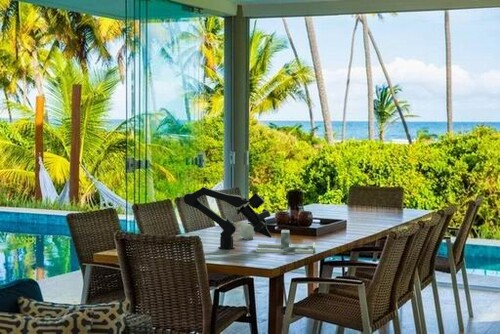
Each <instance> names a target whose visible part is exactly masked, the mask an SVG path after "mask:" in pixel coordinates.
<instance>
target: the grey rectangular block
mask: <svg viewBox="0 0 500 334" xmlns="http://www.w3.org/2000/svg"><path fill="white" fill-rule="evenodd" d="M290 234H291V233H290V229H281V232H280V244H281V248H280V249H284V251H283V252H295V250H309V248H308V245H309V244H299V243H298V244H295V243H293V244H292V243H291V244H290Z"/></svg>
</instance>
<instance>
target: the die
mask: <svg viewBox="0 0 500 334" xmlns="http://www.w3.org/2000/svg"><path fill="white" fill-rule="evenodd" d="M238 234H239V235H240V236H241V237H242V238H243V239H244V240H253V239H254V237H255V234H256V233H255V231H254V227H253V225H252V224H251V223H248V224H241V226H240V229H239V232H238Z"/></svg>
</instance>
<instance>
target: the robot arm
mask: <svg viewBox="0 0 500 334" xmlns="http://www.w3.org/2000/svg"><path fill="white" fill-rule="evenodd" d="M203 196H207V197H210V198H213V199H217V200H219V201H223V202H225V203H227V204H228V205H231V206H232V207H234V208H237V209H236V215H237V216H238V215H239V214H241V215H242V216H243V217H244V218H245V219H246V220H247V222H249V224H250V225H251V226H252V227H253V228H254V231H255V234H256V233H258V234H261V235H264V236H266V237H267V238H270V239H271V238H272V235H271V232H270V231H269V229H268V227H267V224H268V223H267V220H266V218H269V217H271V212H270V210H269V209H266V208H264V209H262V211H261V212H259V213H258V212H256V211H255V209H256V210H258V209H259V208H260V207H261V206H262V205H263V204H265V201H266V200H264V198H263V196H260V195H259V194H258V193H257V192H254V193H253V195H252V196H251V197H250V198H245V197H243V196H241V195H238V194H229V193H224V192H222V191H218V190H215V189H212V188H208V187H207V186H202V187H201V188H200V189H198V190H196V191H193V192H188V193H186V194H185V195H184V197H183V202H184V204H186V205H187V206H189V207H192V208H195V209H197V210H198V211H199V212H201V213H202V214H203V215H205V216H206V217H208V218H209V219H210V220H211V221H213V222H215V224H218V226H219V227H220V228H221V230H222V231H221V232H220V238H219V243H220V244H219V246H218V247H217V249H221V250H231V249H232V250H233V249H236V247H235V246H234V236H233V235H234V234H235V232H237V225H236V223H235V221H232V220H231V218H230V217H228V218H227V219H226V218H224V217H222V216H221V215H219V214H218V213H217V212H215V211H214V210H213V209H211V208H210V207H208V206H207V205H206V204H204V203H203V202H202V201H201V200H200V198H201V197H203Z"/></svg>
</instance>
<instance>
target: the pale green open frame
mask: <svg viewBox="0 0 500 334" xmlns="http://www.w3.org/2000/svg"><path fill="white" fill-rule="evenodd" d="M307 245H308V250H295V254H314V253H315V254H316V242H312V244H307ZM257 247H258V248H256V249H255V253H272V254H273V253H279V254H280V253H281V254H283V251H284V249H281V243H280V244H279V243H277V244H275V243H273V244H272V243H258V244H257Z"/></svg>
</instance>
